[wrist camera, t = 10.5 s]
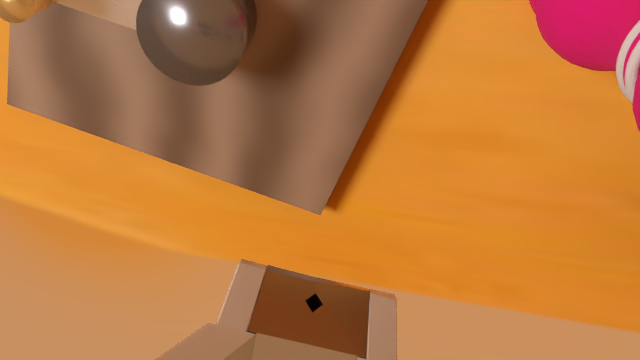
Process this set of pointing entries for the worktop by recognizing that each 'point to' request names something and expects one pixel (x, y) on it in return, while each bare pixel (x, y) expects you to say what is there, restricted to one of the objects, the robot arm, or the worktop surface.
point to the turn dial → (170, 31)
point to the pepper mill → (596, 38)
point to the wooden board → (224, 91)
